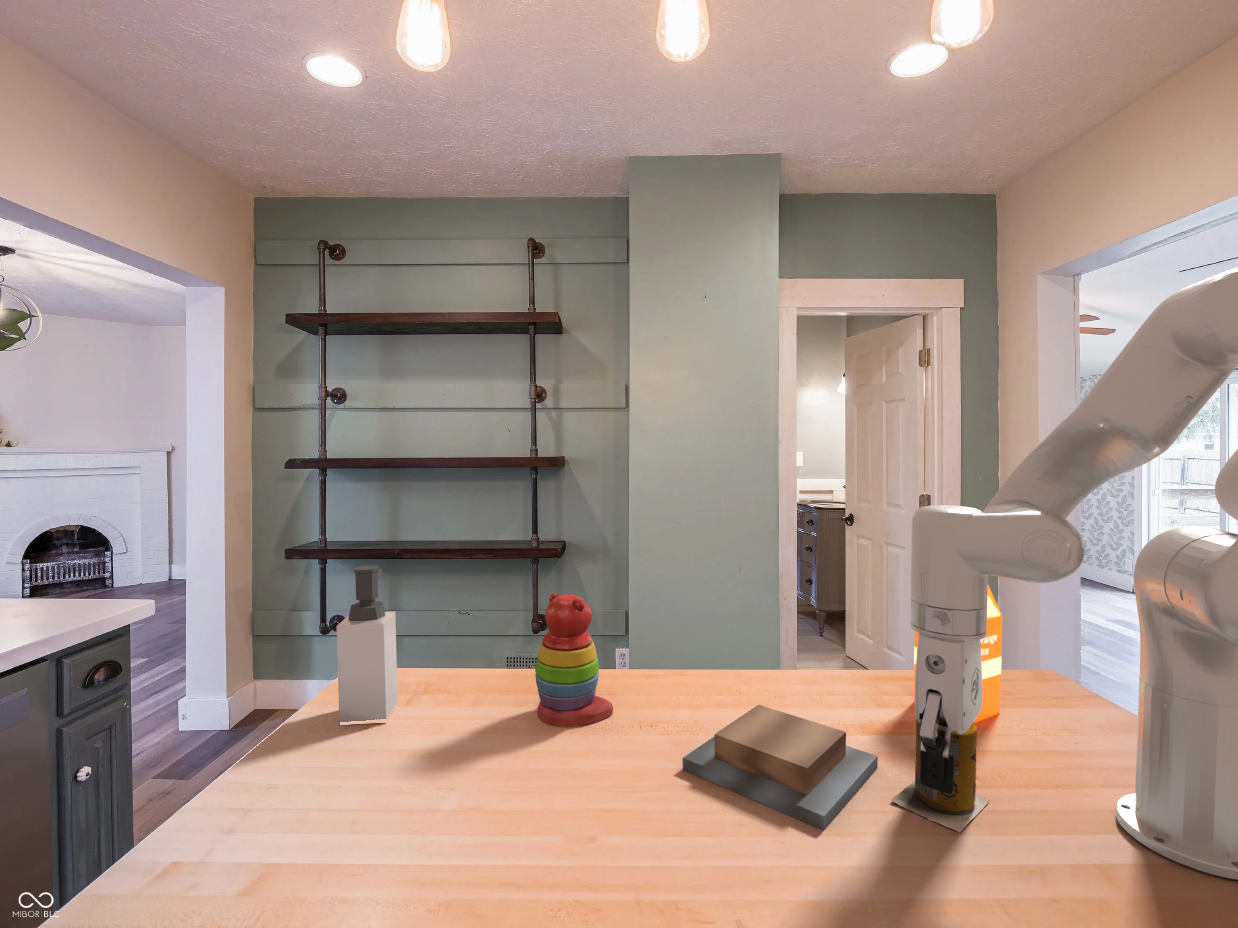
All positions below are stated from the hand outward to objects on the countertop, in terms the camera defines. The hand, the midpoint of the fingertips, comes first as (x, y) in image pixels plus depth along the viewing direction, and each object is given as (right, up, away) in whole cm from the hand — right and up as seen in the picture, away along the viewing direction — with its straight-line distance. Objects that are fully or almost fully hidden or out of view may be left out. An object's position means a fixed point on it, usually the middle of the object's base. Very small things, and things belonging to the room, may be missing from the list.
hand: (945, 773), depth 70 cm
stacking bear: (-44, -2, +23) cm, 50 cm away
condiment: (-1, -3, 0) cm, 3 cm away
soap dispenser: (-74, -2, +24) cm, 78 cm away
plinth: (-17, -3, +7) cm, 18 cm away
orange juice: (+14, -2, +24) cm, 28 cm away
